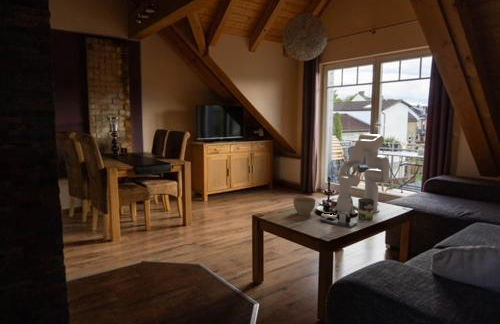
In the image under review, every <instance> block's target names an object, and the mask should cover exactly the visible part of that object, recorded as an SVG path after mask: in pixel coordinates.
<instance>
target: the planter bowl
mask: <svg viewBox="0 0 500 324" xmlns="http://www.w3.org/2000/svg"><path fill="white" fill-rule="evenodd" d="M292 201H293V207H294V209H295V211H296V213H297V214H298V215H299V216H304V217H305V216H310V215H311V213H312V212H313V211H314V209H315V206H316V199H315V198H313V197H307V196H298V197H294V198H293V199H292Z"/></svg>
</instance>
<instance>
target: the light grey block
mask: <svg viewBox="0 0 500 324" xmlns="http://www.w3.org/2000/svg"><path fill="white" fill-rule="evenodd" d="M347 217H348V215H347V213H346V212H341V213H340V214H339V223H342V224H348V223H347Z"/></svg>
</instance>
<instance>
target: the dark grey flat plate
mask: <svg viewBox="0 0 500 324" xmlns="http://www.w3.org/2000/svg"><path fill="white" fill-rule="evenodd" d="M320 222H322V223H325V224H329V225H334V226H338V227H342V228H346V229H352V228H354V227H356V226H357V224H358V223H357V222H354V221H350V222H349V223H348V224H342V223H339V221H338V217H336V218H333V217H329V216H327V217H325V218H324V217H322V218H320Z"/></svg>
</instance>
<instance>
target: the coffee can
mask: <svg viewBox="0 0 500 324" xmlns="http://www.w3.org/2000/svg"><path fill="white" fill-rule="evenodd" d="M357 200H358V202H357V204H358V205H357V206H358V207H357V220H358V221H359V222H363V223H371V222H373V220H374V213H373V206H374V200H372V199H367V198H359V199H357Z"/></svg>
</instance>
